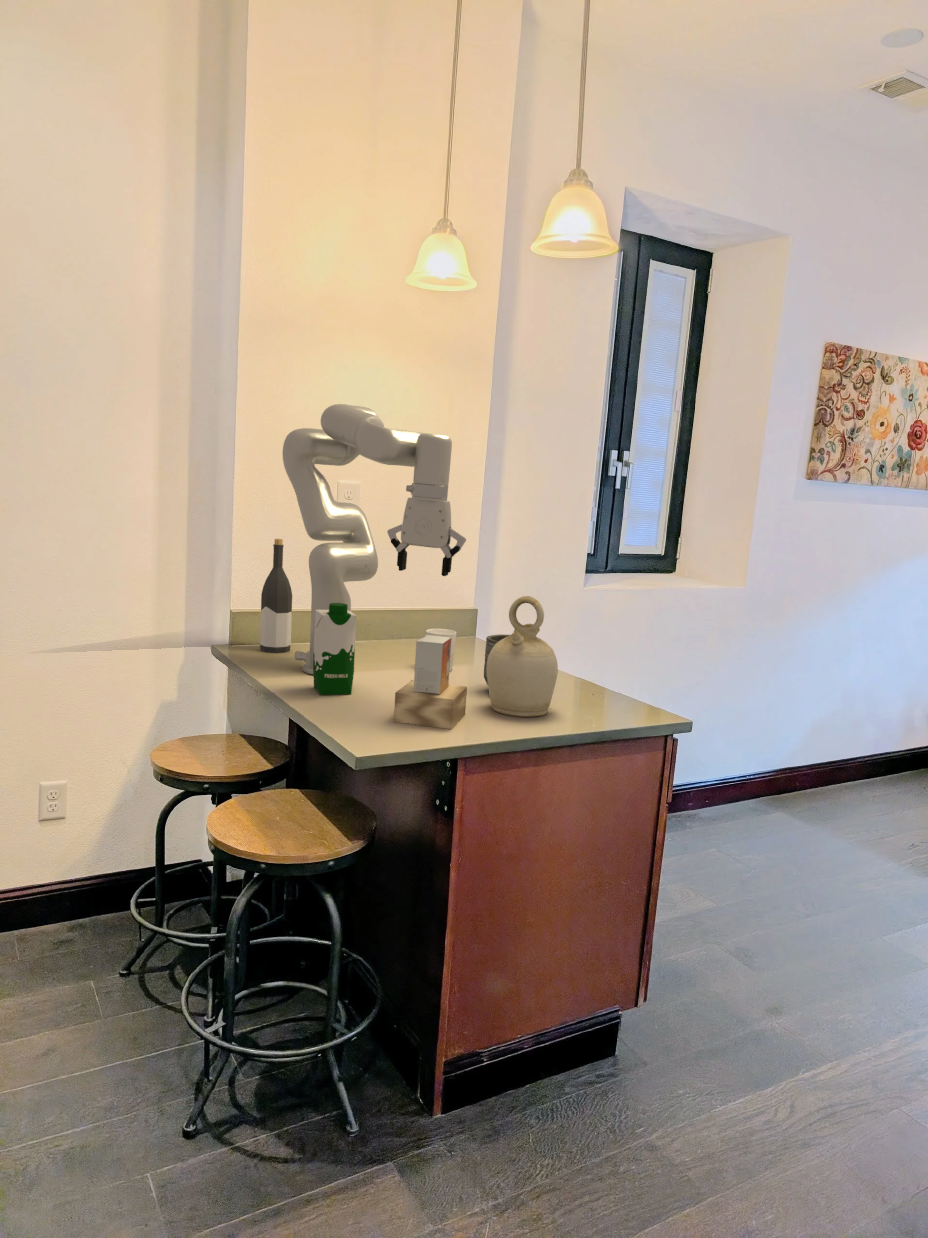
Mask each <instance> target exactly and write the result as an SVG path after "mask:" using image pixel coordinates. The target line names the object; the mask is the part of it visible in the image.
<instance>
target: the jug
mask: <svg viewBox="0 0 928 1238" xmlns="http://www.w3.org/2000/svg"><path fill="white" fill-rule="evenodd" d="M523 604H529V605H531V606H532V607H533V608H534V609H535V613H536V620H535V622H534V623H526V624H525V623H524V624H522V623H520V622H519V620H518V618H517V612H518V609H519V607H521V605H523ZM542 606H543V605H542V604H541V603H540V601H539V600H537V599H536V598H535V597H533V596H528V595H525V596H524V595H523V596H520V597H519V598H516V599H515V600H514V601H513V602H512V604H511V605H510V608H509V611H508V618H509V623H510V624H511V626H512V627H513V628H514V629H513V631H512V634H509V635H510V636H507V637H505V638H504V639H502V640H500V641H499V642H498V643H496V644H495V645H494V647H493V648H492V650H491V652H490V654H489V656H488V660H487V667H486V670H487V680H488V685H487V687H488V695H489V700H490V704H491V708H492V710H493V711H495V712H497V713H499V714H501V715H504V716H509V717H519V718H536V717H541V716H545V715H547V713H548V710H549V707H550V705H551V702H552V698H553V695H554V691H555V687H556V683H557V678H558V674H559V672H558V670H559V669H558V667H559V666H558V659H557V656H556V654H555V652H554V649H553V648H552V647H551V646H550V645H549V644H548V643H547V642H546V641H545V640H543V639H542V638H541V637H538V636H537V635H538V633H539V632H540V628H541V626H542V625H543V623H544V619H545V612H544V607H542Z"/></svg>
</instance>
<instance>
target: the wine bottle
mask: <svg viewBox="0 0 928 1238" xmlns="http://www.w3.org/2000/svg"><path fill="white" fill-rule="evenodd" d="M283 540H284V539H283V538H274V542H273V545H272V546H273V553H272V554H273V557H272V560H273V561H272V562H273V563H272V568H271V570H270V572H269V574H268V575H267V577H266V579H265V581H264V584H263V586H262V591H261V600H260V628H259V629H260V630H259V631H260V633H259V650H260V651H262V652H265V653H271V654H281V653H282V654H283V653H287V652H290V651H291V643H292V638H291V637H292V615H293V614H292V613H293V612H292V611H293V590H292V587H291V584H290V583H291V582H290V580H289V578H288V576H287V574H286V572H285V570H284V568H283V564H284V563H283V561H284V560H283V559H284V558H283V557H284V544H283V543H284V541H283Z"/></svg>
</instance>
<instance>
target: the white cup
mask: <svg viewBox="0 0 928 1238" xmlns="http://www.w3.org/2000/svg"><path fill="white" fill-rule="evenodd" d="M426 635H432V636H441V637H451V653H450V668H449V672H451V671H452V670H453V665H454V662H453V661H454V658H455V651H456V650H455V649H456V640H457V631H455V630H452V629H448V628H447V629H446V628H429V629H426V630H425V636H426Z"/></svg>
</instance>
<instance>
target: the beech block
mask: <svg viewBox="0 0 928 1238" xmlns="http://www.w3.org/2000/svg"><path fill="white" fill-rule="evenodd" d="M467 693H468V687H467V686H463V685H458V684H457V685H456V684H449V683H448V687H447V688H446V689H445V690H443V691H442V692H441V693H440V694H433V693H423V692H414V679H412V680H411V681H409V682H407V683H406V684H405V685H403V686H402V687H400V688H399V689H398V690H396V691H395V692H394V710H393V722H394V723H400V724H407V723H409V725H415V724H416V725H417V726H424V727H432V728H439V729H448V730H453V729H454V727H456V726H457V724H458V723H459V722H460V721H461V720H462V719H463V718H464V717H465V716H466V708H467V707H466V706H467ZM416 725H415V726H416Z"/></svg>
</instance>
